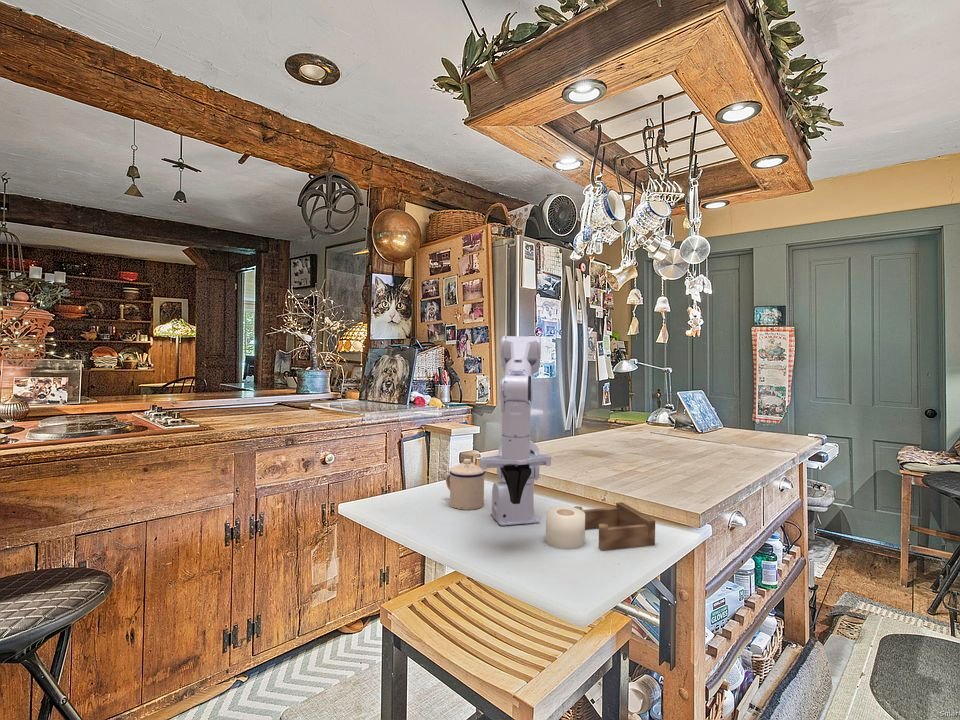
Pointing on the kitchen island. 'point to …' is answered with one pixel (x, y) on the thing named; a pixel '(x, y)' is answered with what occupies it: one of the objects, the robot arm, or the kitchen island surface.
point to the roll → (565, 527)
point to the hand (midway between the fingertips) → (515, 502)
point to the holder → (620, 527)
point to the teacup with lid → (466, 486)
